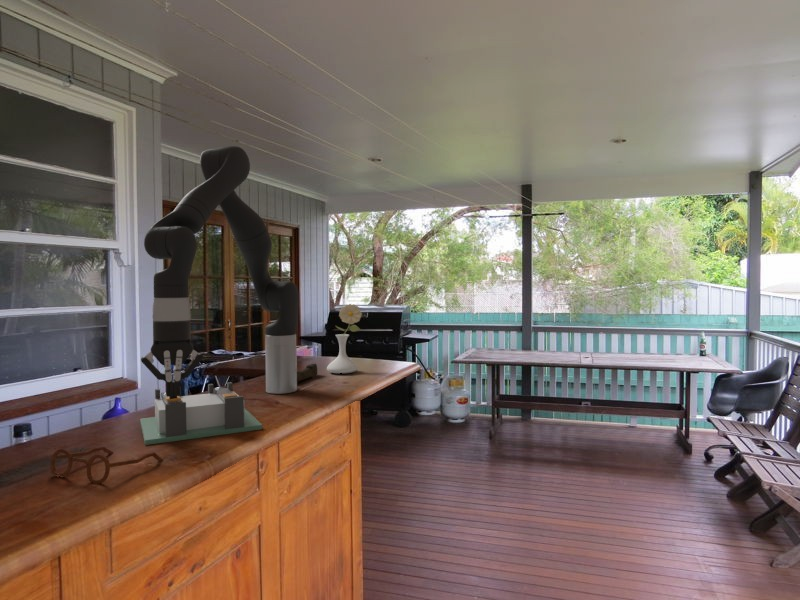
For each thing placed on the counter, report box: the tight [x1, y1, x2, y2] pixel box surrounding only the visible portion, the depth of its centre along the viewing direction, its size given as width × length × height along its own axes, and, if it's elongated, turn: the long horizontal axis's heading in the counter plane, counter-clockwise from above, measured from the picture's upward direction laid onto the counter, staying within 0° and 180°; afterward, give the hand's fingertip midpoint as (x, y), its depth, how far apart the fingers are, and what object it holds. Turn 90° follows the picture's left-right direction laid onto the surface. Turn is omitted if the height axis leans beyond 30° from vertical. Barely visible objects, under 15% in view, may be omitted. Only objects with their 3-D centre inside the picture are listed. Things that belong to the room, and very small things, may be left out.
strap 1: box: [160, 391, 183, 404], centre depth 121 cm, size 16×3×2 cm, turn 28°
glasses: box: [49, 446, 164, 485], centre depth 97 cm, size 13×13×5 cm
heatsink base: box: [139, 381, 263, 446], centre depth 124 cm, size 20×24×8 cm
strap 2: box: [213, 386, 238, 401], centre depth 127 cm, size 16×3×2 cm, turn 28°
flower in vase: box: [326, 303, 363, 374], centre depth 194 cm, size 13×11×25 cm
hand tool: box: [297, 363, 318, 383], centre depth 181 cm, size 19×4×5 cm, turn 159°
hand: (173, 398), depth 117 cm, fingers closed
